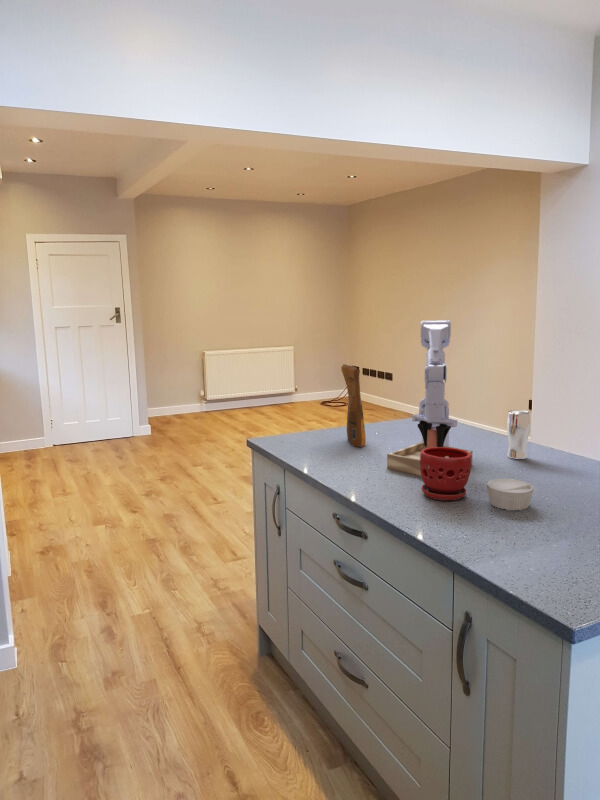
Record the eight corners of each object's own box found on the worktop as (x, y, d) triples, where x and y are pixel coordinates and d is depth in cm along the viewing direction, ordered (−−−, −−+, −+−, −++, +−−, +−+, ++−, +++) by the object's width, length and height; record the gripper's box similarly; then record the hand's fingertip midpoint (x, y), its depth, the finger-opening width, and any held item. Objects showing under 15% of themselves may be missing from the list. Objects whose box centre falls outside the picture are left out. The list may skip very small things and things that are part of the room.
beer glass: (504, 459, 196) (506, 413, 194) (506, 453, 203) (508, 409, 200) (528, 461, 194) (530, 414, 191) (528, 455, 200) (531, 410, 198)
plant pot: (467, 506, 155) (469, 459, 153) (415, 500, 159) (416, 455, 157) (472, 490, 167) (473, 447, 165) (423, 485, 171) (424, 443, 169)
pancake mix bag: (350, 449, 212) (350, 368, 207) (340, 436, 230) (340, 362, 226) (369, 448, 212) (369, 368, 208) (358, 435, 231) (358, 361, 226)
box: (421, 455, 203) (422, 441, 202) (472, 464, 191) (472, 450, 190) (387, 468, 188) (387, 454, 188) (439, 479, 176) (439, 464, 175)
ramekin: (527, 516, 148) (528, 495, 147) (480, 508, 153) (481, 487, 153) (536, 502, 157) (538, 482, 156) (492, 495, 163) (493, 476, 162)
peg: (430, 452, 193) (431, 427, 192) (442, 454, 190) (442, 429, 189) (424, 455, 190) (424, 430, 189) (435, 457, 187) (436, 431, 186)
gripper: (407, 402, 190) (406, 445, 192) (449, 408, 180) (448, 453, 182) (419, 399, 195) (418, 441, 197) (461, 404, 185) (459, 448, 187)
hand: (433, 446), depth 190 cm, fingers closed on peg, 4 cm apart
